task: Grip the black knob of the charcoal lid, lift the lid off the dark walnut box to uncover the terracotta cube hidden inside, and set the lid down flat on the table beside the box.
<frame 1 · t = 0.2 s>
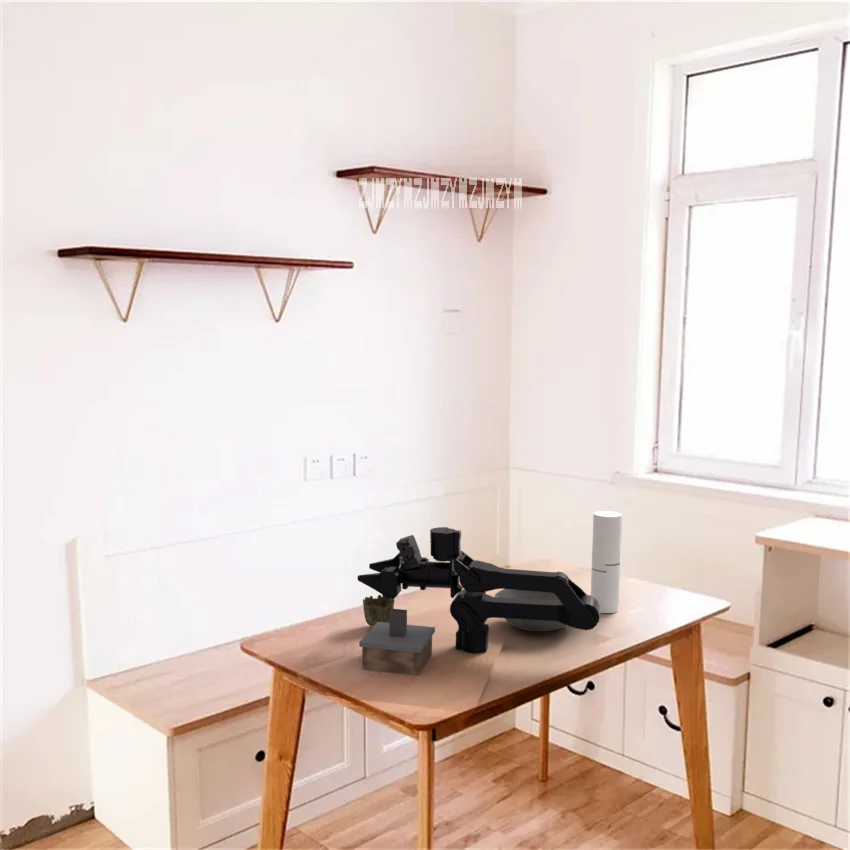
hand: (363, 571, 200), 17 cm above the table, tool horizontal, fingers open, 9 cm apart
terracotta cube: (397, 661, 188), point 1 cm above the table, touching walnut box
bowl: (538, 627, 214), on the table
cylindrical container: (604, 610, 228), on the table
walnut box: (397, 666, 188), on the table
cup: (378, 633, 209), on the table
lid: (398, 639, 187), point 6 cm above the table, touching walnut box
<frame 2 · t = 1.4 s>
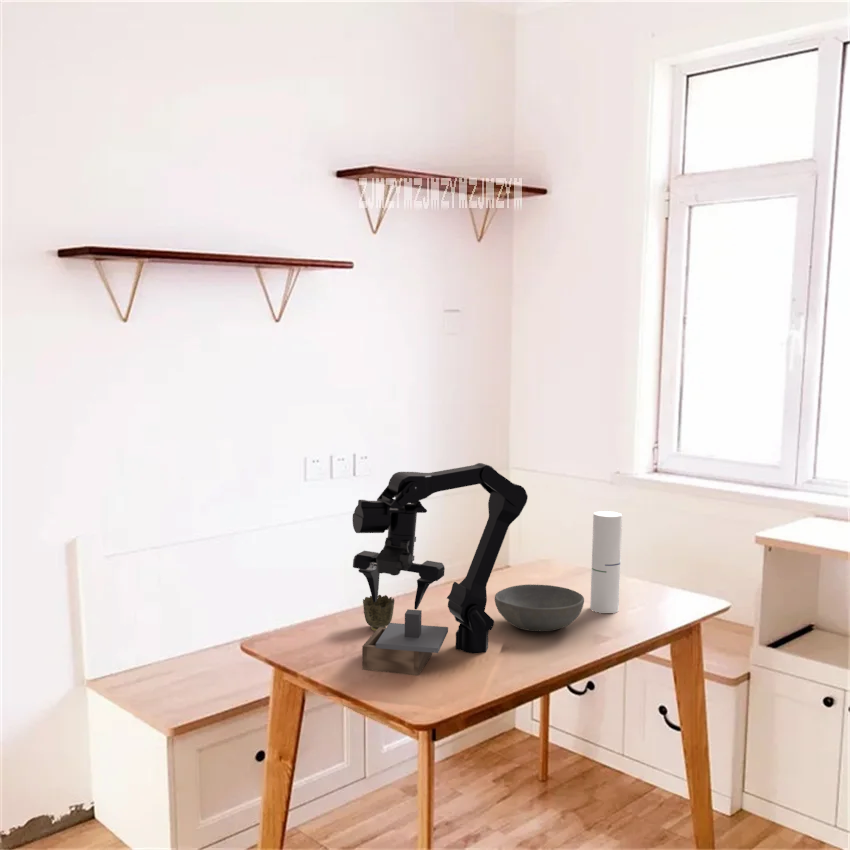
hand: (395, 605, 187), 13 cm above the table, tool pointing down, fingers open, 9 cm apart
lid: (412, 639, 187), point 6 cm above the table, touching walnut box
everything else where it was.
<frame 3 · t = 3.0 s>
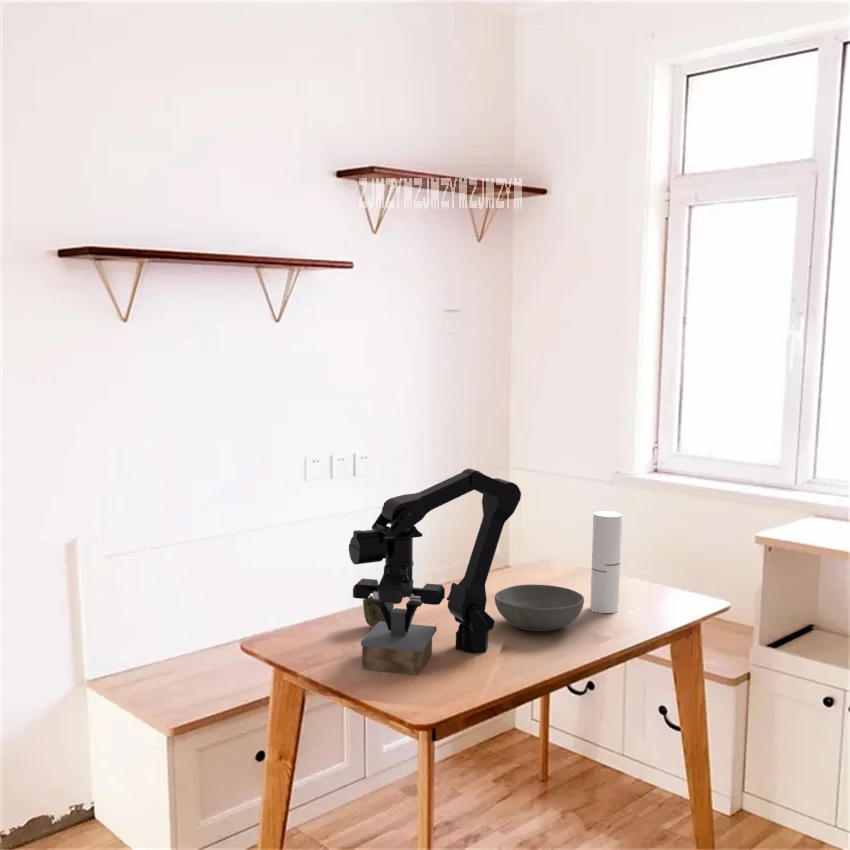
hand: (398, 630, 187), 8 cm above the table, tool pointing down, fingers closed on lid, 3 cm apart
lid: (399, 638, 188), point 6 cm above the table, touching gripper, walnut box
everything else where it was.
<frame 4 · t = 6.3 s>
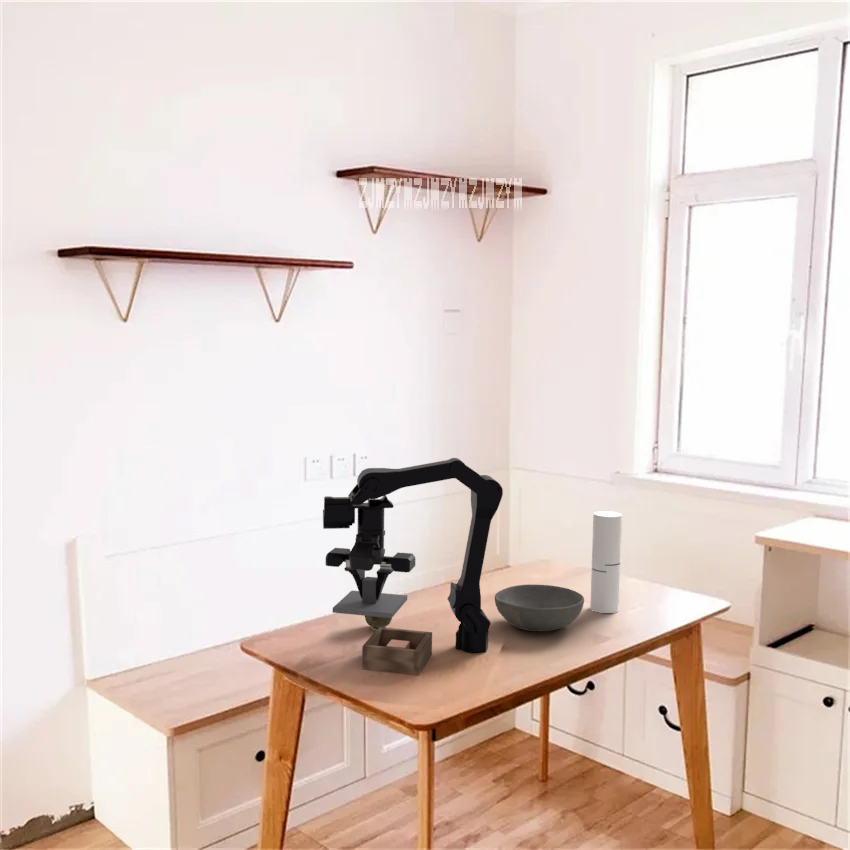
hand: (370, 598, 192), 13 cm above the table, tool pointing down, fingers closed on lid, 3 cm apart
lid: (370, 605, 192), point 11 cm above the table, touching gripper
everything else where it was.
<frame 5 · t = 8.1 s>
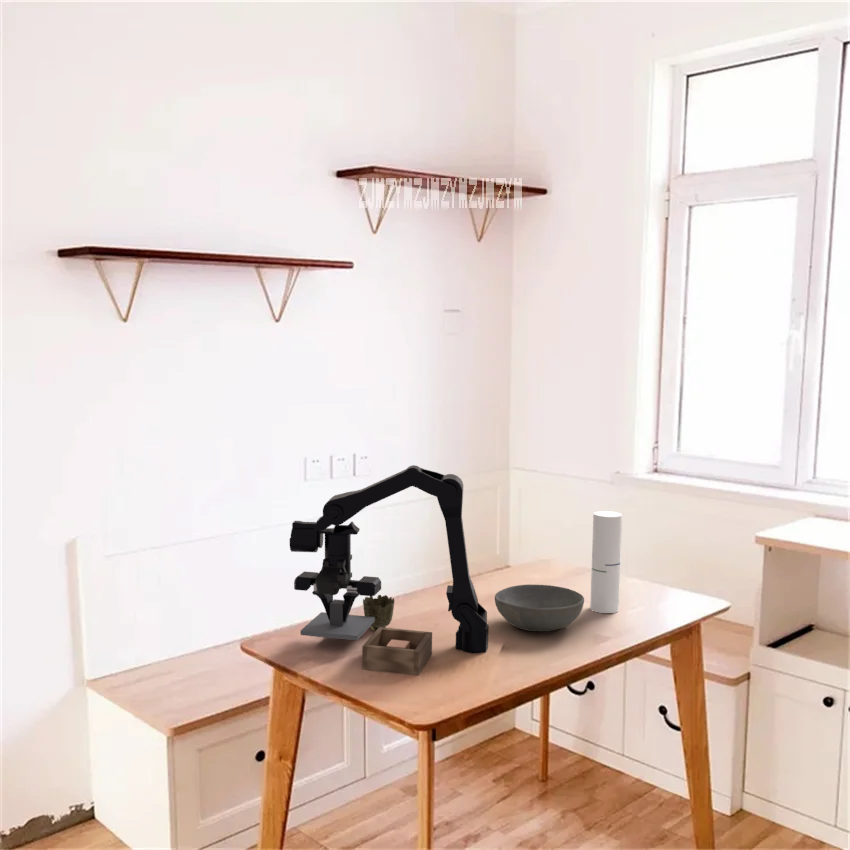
hand: (337, 620, 198), 6 cm above the table, tool pointing down, fingers closed on lid, 3 cm apart
lid: (338, 627, 198), point 4 cm above the table, touching gripper
everything else where it was.
when the fingers open (3 cm above the table, at t = 9.3 s): lid drops 2 cm, on the table.
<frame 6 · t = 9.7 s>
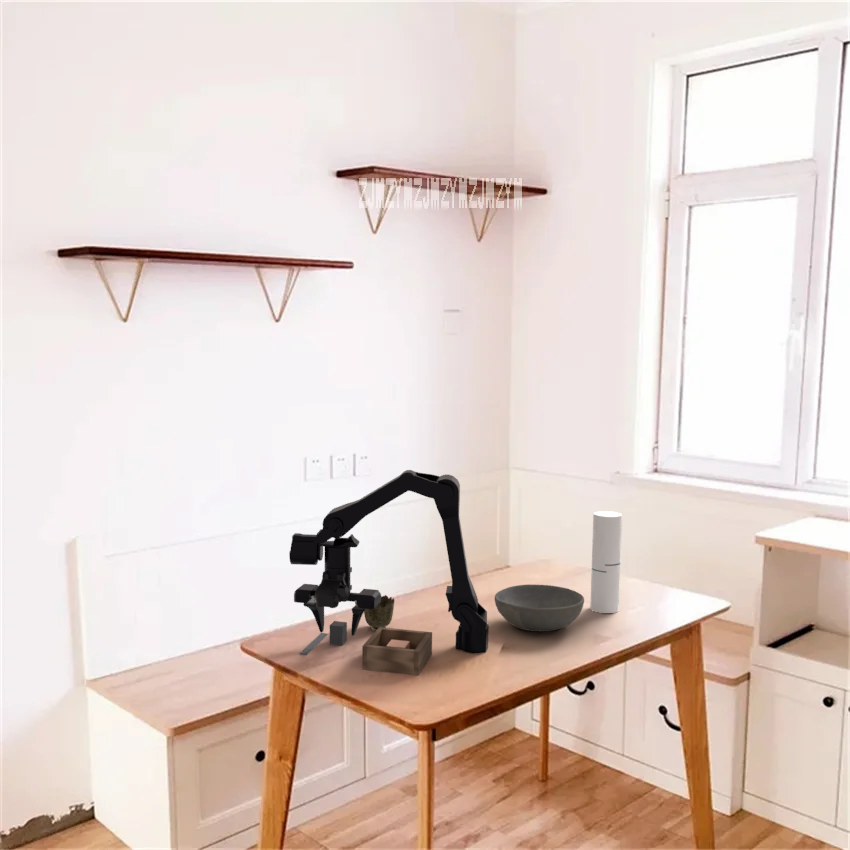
hand: (337, 633, 198), 3 cm above the table, tool pointing down, fingers open, 7 cm apart
lid: (338, 649, 199), on the table
everything else where it was.
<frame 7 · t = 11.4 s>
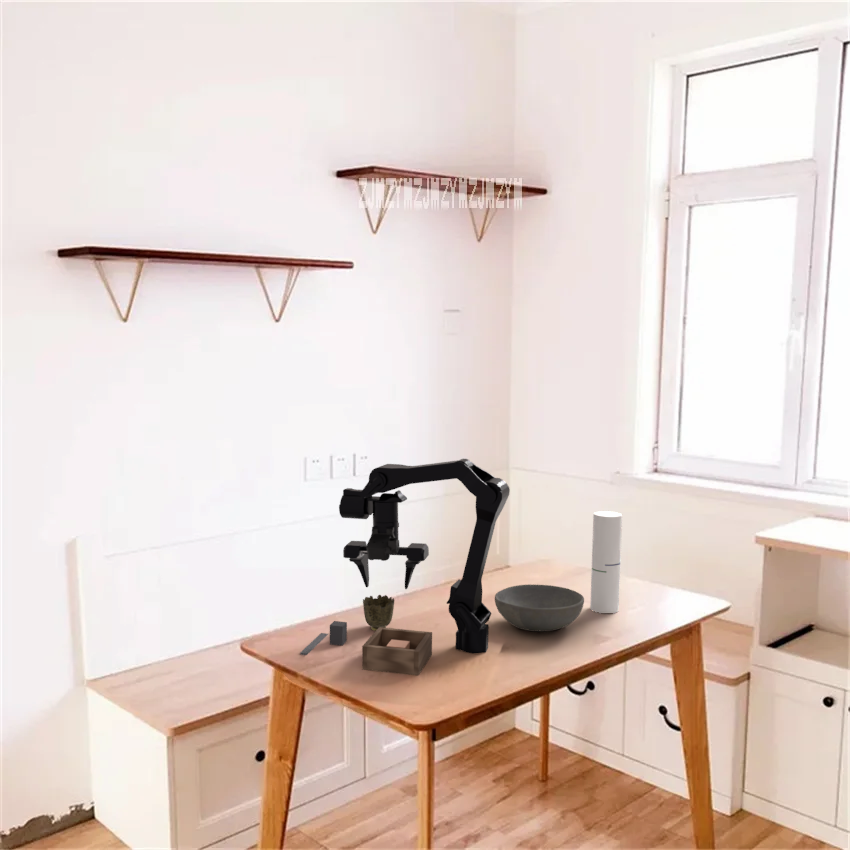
hand: (386, 587, 202), 13 cm above the table, tool pointing down, fingers open, 9 cm apart
nothing on the table moved.
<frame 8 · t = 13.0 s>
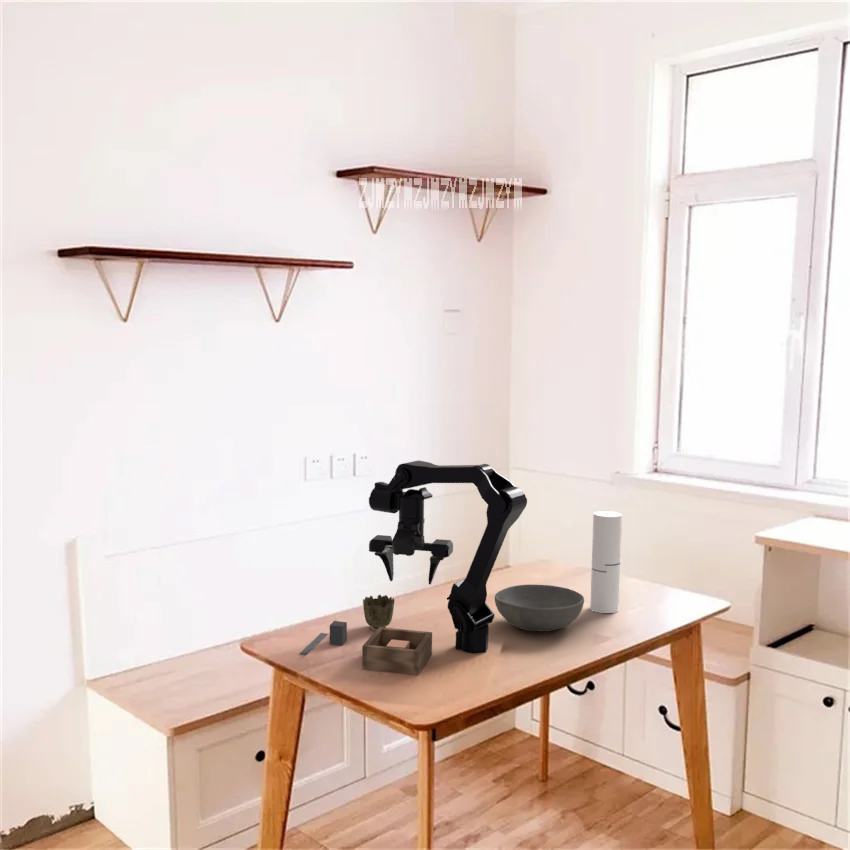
hand: (410, 582, 204), 13 cm above the table, tool pointing down, fingers open, 9 cm apart
nothing on the table moved.
at the end: lid inside the target area (0.4 cm from its centre), on the table; lid tilted 0°; lid touching table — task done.
